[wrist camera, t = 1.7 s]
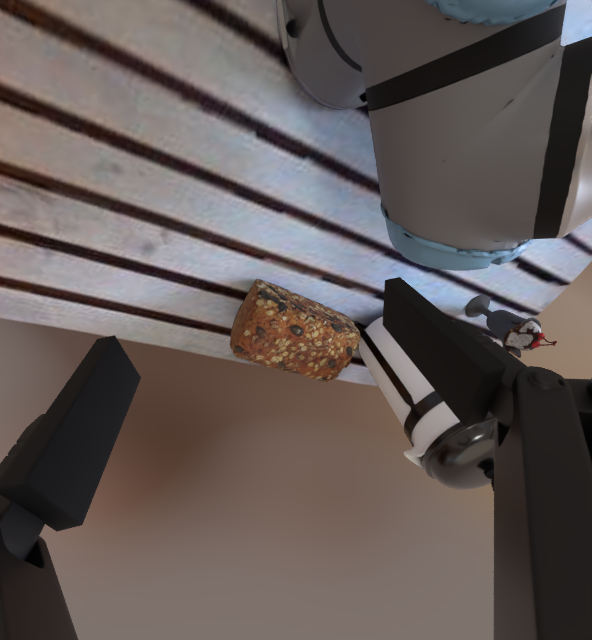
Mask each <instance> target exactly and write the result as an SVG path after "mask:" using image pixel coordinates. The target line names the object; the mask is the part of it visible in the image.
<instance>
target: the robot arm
mask: <svg viewBox="0 0 592 640" xmlns="http://www.w3.org/2000/svg"><path fill="white" fill-rule="evenodd" d="M566 2H567V0H277V21H278V31H279V37H280V42H281V46H282V50H283V53H284V56H285V59H286V61H287V64H288V66H289V68H290V70H291V72H292V74H293V76H294V78H295V79H296V81H297V82H298V84H299V85H300V86H301V88H302V89H303V90H304V91H305V92H306V93H307V94H308V95H309V96H310V97H311V98H313V99H314V100H315V101H317V102H319V103H320V104H322V105H325V106H327V107H330V108H333V109H341V110H347V109H353V108H358V107H361V106H364V105H367V104H368V112H369V119H370V125H371V132H372V139H373V146H374V153H375V159H376V166H377V173H378V180H379V187H380V194H381V211H382V214H383V216H384V217H385V219H386V224H387V229H388V234H389V238H390V241H391V243H392V245H393V246H394V248H396V249H397V250H398V251H399V252H400V253H401V254H402V255H403V256H404V257H406V258H407V259H409V260H411V261H413V262H415V263H418V264H421V265H424V266H427V267H432V268H437V269H444V270H477V269H484V268H487V267H488V266H489V265H490V263H493V264H497V265H500V264H503V263H506V262H508V261H511V260H513V259H514V258H516V257H517V256H519V255H520V254H521V253H522V252H523V251H524V250H525V249H526V247H527V246H528V245H529V244H530V243H531V241H532V239H545V238H562V237H564V236H565V235H567V234H568V233H570V232H571V231H573V230H574V229H576V228H577V227H579V226H580V225H582V224H583V223H585V222H586V221H588V220H589V219H591V218H592V37H589V38H586V39H583V40H581V41H578V42H575V43H572V44H569V45H566V46H561V45H560V43H561V35H562V27H563V21H564V15H565V8H566ZM383 326H384V327H385V329H386V330H387V331H388V332H389V334H390V335H391V336H392V337H393V339H394V340H395V341H396V342H397V344H398V345H399V346H400V347H401V349H402V350H403V351H404V352H405V354H406V355H407V356H408V357H409V359H410V360H411V361H412V362H413V364H414V365H415V366H416V367H417V368H418V370H419V371H420V372H421V373H422V375H423V376H424V377H425V378H426V380H427V381H428V382H429V383H430V385H431V386H432V387H433V388H434V390H435V391H436V392H437V393H438V395H439V396H440V397H441V398H442V400H443V401H444V402H445V403H446V405H447V406H448V407H449V408H450V410H451V411H452V412H453V413H454V415H455V416H456V417H457V418H458V420H459V421H460V422H461V423H462V424H463V426H464V427H466V426H470V425H474V424H478V423H482V422H484V421H485V419H486V416H487V414H488V411H490V413H491V414H492V415H493V416H494V417H495V418H496V422H495V424H494V426H493V428H492V430H491V433H490V435H489V439H493V437H494V640H592V379H591V380H589V379H588V380H587V379H564V378H563V377H562V376H561V375H559V374H557V373H555V372H553V371H551V370H548V369H545V368H541V367H533V366H530V367H527V366H526V365H525V364H523V363H522V362H520V361H519V360H518V359H517V358H515V357H514V356H513V355H512V354H510V353H509V352H508V351H506V350H505V349H504V348H503V347H501V346H500V345H499V344H497V343H496V342H493V340H492V339H491V338H490V337H488V336H485V334H484V333H483V332H482V331H480V330H479V329H478V328H477V327H475V326H473V325H471V324H469V323H466V322H464V321H462V320H461V321H457V322H453V321H452V320H451V319H450V318H449V317H447V316H446V315H445V314H444V313H442V312H441V311H440V310H439V309H438V308H436V307H435V306H434V305H433V304H432V303H430V302H429V301H428V300H427V299H425V298H424V297H423V296H422V295H421V294H419V293H418V292H417V291H416V290H415V289H413V288H412V287H411V286H410V285H408V284H407V283H406V282H405V281H404V280H402V279H401V278H400V277H398V278H393V279H388V280H385V291H384V308H383ZM140 378H141V377H140V375H139V374H138V372H137V371H136V369H135V367H134V366H133V364H132V362H131V361H130V359H129V358H128V356H127V354H126V353H125V351H124V350H123V348H122V347H121V345H120V343H119V342H118V340H117V338H116V337H115V335H114V336H110V337H105V338H100V339H97V340H96V342H95V343H94V345H93V346H92V348H91V349H90V350H89V352H88V353H87V355H86V356H85V358H84V359H83V360H82V362H81V364H80V365H79V367H78V368H77V369H76V371H75V372H74V373H73V375H72V376H71V378H70V379H69V381H68V382H67V383H66V385H65V386H64V388H63V389H62V391H61V392H60V393H59V395H58V396H57V398H56V399H55V401H54V402H53V403H52V405H51V406H50V408H49V409H48V411H47V412H46V414H42V415H41V416H39V417H38V418H37V419H36V420H35V421H34V422H32V423H31V424H30V425H29V426H28V427H27V428H26V430H25V431H24V432H23V433H22V435H21V436H20V438H19V439H18V440H17V444H15V445H14V446H13V447H12V449H11V450H10V451H9V453H8V456H6V457H5V458H4V459H3V461H2V462H1V464H0V640H78V638H77V635H76V632H75V629H74V626H73V623H72V620H71V617H70V614H69V611H68V608H67V605H66V602H65V599H64V596H63V593H62V590H61V587H60V584H59V581H58V578H57V575H56V572H55V569H54V566H53V563H52V560H51V557H50V554H49V551H48V548H47V545H46V542H45V541H44V539H43V538H41V537H40V536H39V535H40V533H41V531H42V529H43V526H44V525H45V524H46V525H48V526H49V527H51V528H52V529H54V530H56V531H61V530H64V529H68V528H72V527H76V526H80V525H82V524H83V522H84V519H85V517H86V514H87V512H88V509H89V506H90V504H91V502H92V499H93V497H94V494H95V492H96V489H97V487H98V484H99V482H100V479H101V476H102V474H103V471H104V469H105V466H106V464H107V461H108V459H109V456H110V454H111V451H112V449H113V446H114V444H115V441H116V439H117V436H118V434H119V431H120V429H121V426H122V424H123V421H124V419H125V416H126V414H127V411H128V409H129V406H130V404H131V401H132V399H133V396H134V394H135V391H136V389H137V386H138V384H139V381H140Z"/></svg>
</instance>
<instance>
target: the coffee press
mask: <svg viewBox="0 0 592 640" xmlns="http://www.w3.org/2000/svg"><path fill="white" fill-rule="evenodd" d="M354 324H355V327H356V328H357V329H358V330H359V332H360V336H361V338H360V342H359V352H360V355H361V357H362V363H363V364H365V365H366V366H367V367H368V369H369V371H370V372H371V374H372V376H373V377H374V379H375V381H376V382H377V384H378V386H379V387H380V389H381V391H382V392H383V394H384V396H385V397H386V399H387V401H388V402H389V404H390V406H391V408H392V409H393V411H394V413H395V414H396V416H397V417H398V419H399V421H400V423H401V424H402V426H403V428H404V432H405V434H406V436H407V438H408V439H409V441H410V443H411V444H412V446H413V448H411V449H410V450H408V451H405V452H404V455H405V456H406V457H407V458H408V459H409V460H411V461H412V462H413V463H415V464H416V465H418V466H419V467H421V468H423V469H425V471H426V472H427V474H428V475H429V476H430V477H432V478H434V479H436V480H437V481H439V482H440V483H441V484H443V485H444V486H447V487H449V488H453V489H460V490H468V489H475V488H479V487H483V486H486V485H489V484H492V487H493V491H494V437H493V439H489V435H490V433H491V430H492V428H493V426H494V424H495V422H496V418H495V417H494V416H493V415H492V414H491V413H490V411H488V414H487V416H486V419H485V421H484V422H482V423H478V424H474V425H470V426H466V427H464V426H463V424H462V423H461V422H460V421H459V420H458V418H457V417H456V416H455V415H454V413H453V412H452V411H451V410H450V408H449V407H448V406H447V405H446V403H445V402H444V401H443V400H442V398H441V397H440V396H439V395H438V393H437V392H436V391H435V390H434V388H433V387H432V386H431V385H430V383H429V382H428V381H427V380H426V378H425V377H424V376H423V375H422V373H421V372H420V371H419V370H418V368H417V367H416V366H415V365H414V364H413V362H412V361H411V360H410V359H409V357H408V356H407V355H406V354H405V352H404V351H403V350H402V349H401V347H400V346H399V345H398V344H397V342H396V341H395V340H394V339H393V337H392V336H391V335H390V334H389V332H388V331H387V330H386V329H385V327H384V326H383V316H382V317H380V318H378V319H376V320H375V321H373V322H372V323H371V324H370V325H369V326H368V327H366V326H364V325H362V324H361V323H359V322H357V321H355V322H354Z"/></svg>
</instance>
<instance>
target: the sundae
mask: <svg viewBox="0 0 592 640" xmlns="http://www.w3.org/2000/svg"><path fill="white" fill-rule="evenodd" d="M489 304H490V300H489V298H488V297H487V296H485V295H482V296H478V297H476V298H474V299H473V300H472V301H471V302H470V303H469V304H468V306H467V308H466V314H467V315H468V316H469V317H477V316H479V315H481V314H484V315H485V316H487V326H488V328H489V329H490V330H491V331H492V332H493V333H494V334H495V335H496V336H497V337H498V338H499V339H500V340H501V341H502V342H503V348H504V349H505V350H507V351H508V352H509V351H510V352H511V353H513V354H514V355H516V356H518V357H521V352H520V350H522V351H528V350H533V349H534V348H537V347H539V346H544V345H541V344H540V342H539V341H540V340H542V339H544V340H545V341H546V342H548V341H547V340H546V339H545V338H544V337H545V336H544V334H543V333H541V330H540V328H541V324H540V322H539V321H538V320H537V319H535V318H529V319H524V318H521V317H519V316H517V315H515V314H513V313H510V312H507V311H505V310H497V311H494V312H491V311H490V310H488V309H487V308H488V307H489ZM549 343H553V344H549V345H554V346H555V344H556V343H557V341H554V342H549ZM547 345H548V344H547Z"/></svg>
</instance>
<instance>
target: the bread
mask: <svg viewBox="0 0 592 640" xmlns="http://www.w3.org/2000/svg"><path fill="white" fill-rule="evenodd" d="M230 334H231V340H230V346H231V349H232V350H233V354H234V355H235V356H236V357H238V358H241V359H247V360H248V361H250V362H251V363H258V364H260V365H263V366H265V367H269V368H273V369H279V370H283V371H284V372H293V373H298V374H302V375H305V376H306V377H308V378H313V379H317V380H319V381H326V382H328V381H331V380H333V379H335V378H336V377H338V374H339V373H340V372H341V370H342V369H343V368H344V367H347V366H348V365H349V364H350V361H351V360H352V357H353V355H354V353H355V350H356V349H357V348H358V347H359V342H360V332H359V330H358V329H357V328H356V327H355V324H354V323H353V322H352V321H351V320H350V319H349V318H348V317H347V316H346V315H344V314H342V313H340V312H337V311H335V310H332V309H330V308H328V307H325V306H324V305H322V304H320V303H317V302H314V301H312V300H310V299H308V298H305V297H303V296H300V295H298V294H296V293H292V292H290V291H289V290H286V289H284V288H281V287H279V286H276V285H274V284H271V283H268V282H265V281H262V280H260V279H256V281H255V283H254V284H253V285H252V287H251V289H250V290H249V293H248V295H247V296H246V298H245V300H244V302H243V304H242V305H241V307H240V309H239V311H238V313H237V315H236V318H235V320H234V323H233V327H232V331H231V333H230Z"/></svg>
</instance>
